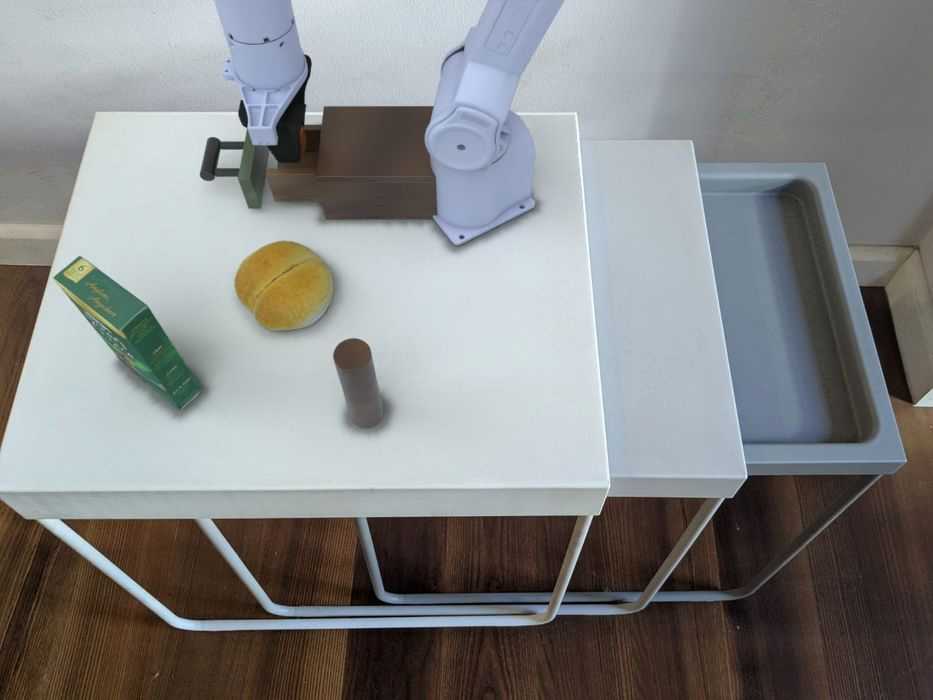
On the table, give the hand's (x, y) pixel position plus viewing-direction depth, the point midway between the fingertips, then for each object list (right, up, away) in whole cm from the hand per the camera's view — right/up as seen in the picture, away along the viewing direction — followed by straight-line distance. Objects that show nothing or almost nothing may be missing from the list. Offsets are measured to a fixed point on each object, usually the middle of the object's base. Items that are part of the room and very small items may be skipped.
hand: (291, 145), depth 73 cm
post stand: (+8, -25, -8) cm, 27 cm away
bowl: (0, 0, 0) cm, 0 cm away
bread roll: (0, -14, -2) cm, 14 cm away
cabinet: (+9, -3, +5) cm, 10 cm away
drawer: (-1, -2, +4) cm, 5 cm away
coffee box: (-10, -22, -6) cm, 25 cm away
